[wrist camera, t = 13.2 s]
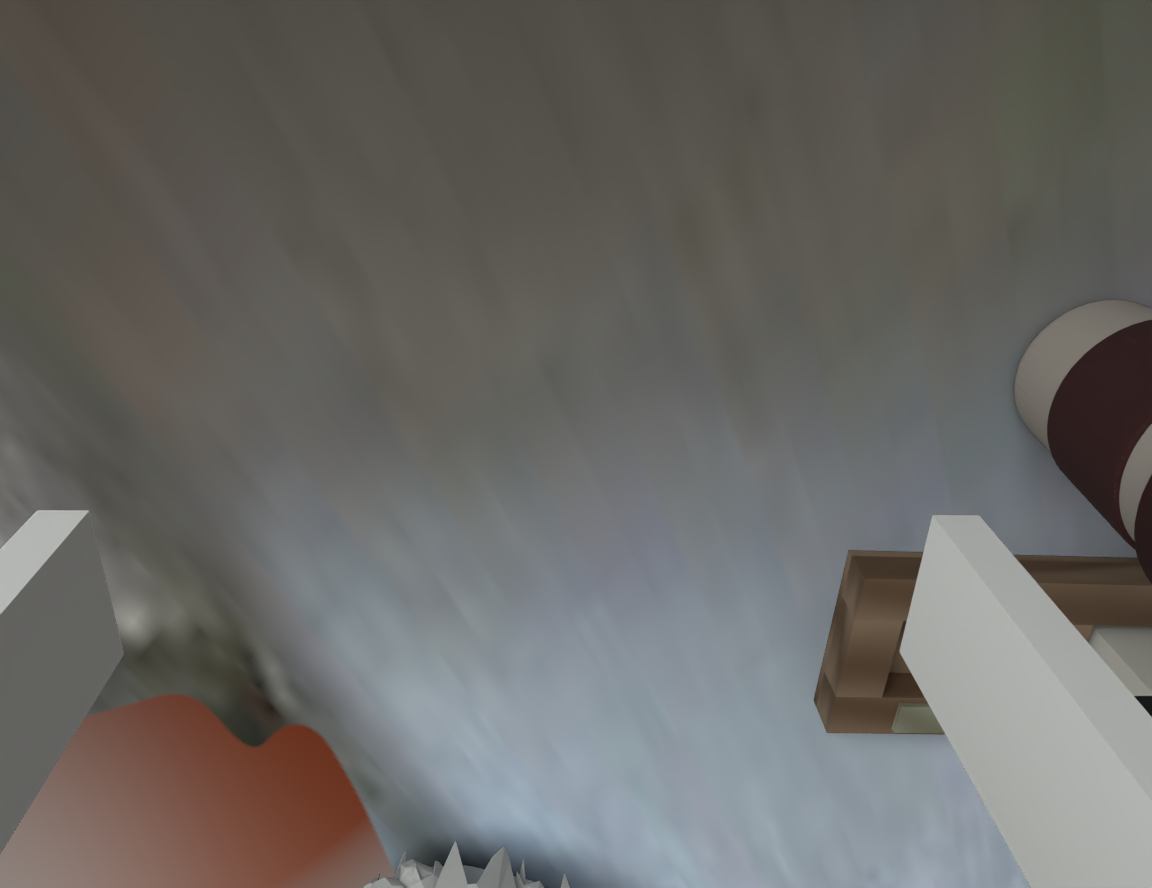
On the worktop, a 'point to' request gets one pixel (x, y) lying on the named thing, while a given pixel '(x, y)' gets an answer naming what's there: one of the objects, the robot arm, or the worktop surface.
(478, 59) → the worktop surface
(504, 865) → the bowl
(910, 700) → the socket board
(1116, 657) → the plug
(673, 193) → the worktop surface
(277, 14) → the worktop surface
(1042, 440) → the coffee cup
